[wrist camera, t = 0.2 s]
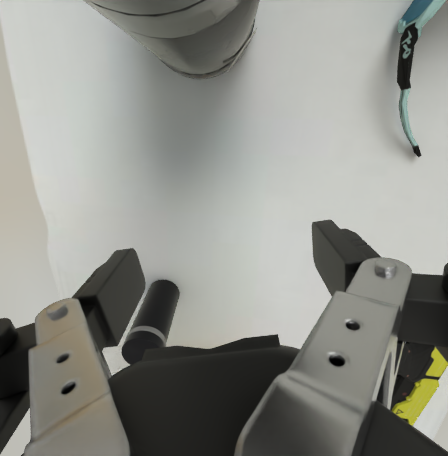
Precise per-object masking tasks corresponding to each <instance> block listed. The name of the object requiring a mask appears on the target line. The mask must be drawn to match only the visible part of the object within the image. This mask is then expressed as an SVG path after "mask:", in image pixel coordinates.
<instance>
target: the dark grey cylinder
mask: <svg viewBox="0 0 448 456" xmlns="http://www.w3.org/2000/svg"><path fill="white" fill-rule="evenodd" d="M178 299H179V289H178V287H177V286H176V285H175V284H174V283H172V282H171V281H168V280H158V281H156V282H154V283H153V284H152V285H151V286H150V288H149V290H148V293H147V295H146V297H145V299H144V301H143V304H142V306H141V308H140V310H139V312H138V314H137V317H136V319H135V321H134V323H133V325H132V327H131V330H130V332H129V333H128V335H127V337H126V339H125V343H124V345H123V347H122V356H123V358H124V359H125V361H126V362H128V363H129V364H130V365H132V364H134V363H137V362H139V361H141V360H142V357H143V355H144V352H145V349H153V348H162V347H166V342H167V338H168V335H169V331H170V327H171V324H172V320H173V317H174V313H175V309H176V306H177V302H178Z"/></svg>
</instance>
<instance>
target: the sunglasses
mask: <svg viewBox="0 0 448 456" xmlns="http://www.w3.org/2000/svg"><path fill="white" fill-rule="evenodd" d="M445 1H446V0H414V1H413V2H412V4H411V5H410V7H409V8H408V10H407V11H406V13H405V14H404V16H403V17H402V19H400V20H399V24H398V32H400V33H401V34H403V35H402V37H401V41H400V50H399V59H398V70H397V83H398V85H399V87H400V88H401V94H400V101H399V111H400V118H401V122H402V126H403V129H404V132H405V134H406V136H407V138H408V139H409V141H410V143H411V145H412V147H413V150H414V153H415V154H416V155H417V156H418V157H420V156H421V153H420V150H419V146H418V144H417V143H416V141H415V139H414V138H413V135H412V132H411V129H410V125H409V120H408V111H407V99H408V95H409V92H410V88H411V85H410V74H411V66H412V59H413V52H414V45H415V43H416V41H417V40H418V37H420V36H421V31H422V26H423V25H424V24H425V23H426V22H428V21H429V20H430V19H431V18H432V17H433V16H434V15H435V13H436V12H437V11H438V10H439V8H440V7H441V6H442V5H443V4H444V3H445Z"/></svg>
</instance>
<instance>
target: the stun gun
mask: <svg viewBox="0 0 448 456" xmlns="http://www.w3.org/2000/svg"><path fill="white" fill-rule="evenodd" d="M447 366H448V363H447V361H446V360H445V359H444V358H443V356H442V355H441V354H440V352H439V351H438V350H437V349H436V347H435V346H434V345H427V344H419V343H412V342H410V343H408V344H405V343H404V347H403V351H402V355H401V359H400V363H399V368H398V372H397V376H396V380H395V384H394V389H393V394H392V401H391V407H390V410H391V411H392V412H394V413H395V414H396V415H398V416H399V417H401V418H402V419H403V420H405V421H406V422H407V423H409V424H410V425H412V426H413V424H414V423H415V421H416V420H417V417H419V415H420V414H421V412H422V411H423V409H424V408H425V406H426V405H427V403H428V402H429V400H430V399H431V397H432V396H433V394H434V393H435V391H436V390H437V389H436V388H437V387H439V383H438V380H439V378H440V377H441V375H442V374H443V372H444V370H445V369H446V367H447Z"/></svg>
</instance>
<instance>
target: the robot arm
mask: <svg viewBox="0 0 448 456" xmlns="http://www.w3.org/2000/svg"><path fill="white" fill-rule="evenodd" d="M83 1H85V2H86V3H87V4H89V5H90V6H91V7H93V8H94V9H95V10H96V11H98V12H99V13H100V14H102V15H103V16H104V17H106V18H107V19H109V20H110V21H111V22H113V23H114V24H115V25H117V26H118V27H119V28H120V29H122V30H123V31H124V32H126V33H127V34H128V35H130V36H131V37H132V38H134V39H135V40H136V41H137V42H139V43H140V44H141V45H143V46H144V47H145V48H147V49H148V50H149V51H151V52H152V53H153V54H154V55H156V56H157V57H158V58H159V59H160V60H161V61H162V62H163V63H164V64H166V65H167V66H168V67H169V68H171V69H172V70H174V71H175V72H177V73H179V74H181V75H183V76H186V77H190V78H196V79H205V78H211V77H214V76H217V75H220V74H221V73H223V72H225V71H228V72H229V70H230V69H231V67H232V66H233V65H234V64H235V63H236V62H237V61H238V60H239V58H240V57H241V56H242V54H243V53H244V51H245V49H246V48H247V45H248V43H249V41H250V40H251V38H252V37H253V35H254V34H255V32H256V30H255V31H254V33H253V34H252V31H253V27H254V22H255V16H256V12H257V8H258V4H259V0H83ZM256 29H257V28H256ZM251 35H252V36H251ZM312 241H313V257H314V263H315V266H316V268H317V270H318V272H319V274H320V276H321V278H322V279H323V281H324V283H325V285H326V287H327V288H328V290H329V292H330V294H331V296H332V298H331V300H330V301H329V303H328V305H327V306H326V308H325V310H324V311H323V313H322V315H321V316H320V318H319V320H318V321H317V323H316V325H315V326H314V328H313V330H312V331H311V333H310V335H309V336H308V338H307V339H306V341H305V343H304V344H303V346H302V348H301V349H297V348H294V347H289V346H283V345H280V343H279V338H278V334H277V335H268V336H260V337H251V338H243V339H240V340H237V341H234V342H231V343H228V344H225V345H222V346H218V347H215V348H212V349H201V348H192V347H183V346H171V347H162V348H153V349H145V352H144V355H143V357H142V360H141V361H139V362H137V363H134V364H132V365H130V366H128V367H126V368H124V369H122V370H121V371H119V372H117V373H116V374H114V375H113V376H112V375H111V373H110V370H109V368H108V365H107V362H106V360H105V358H104V355H103V353H102V350H103V348H104V347H113V346H118V344H119V342H120V340H121V338H122V336H123V334H124V332H125V330H126V328H127V326H128V324H129V321H130V319H131V317H132V315H133V313H134V311H135V309H136V307H137V305H138V303H139V301H140V299H141V297H142V295H143V293H144V290H145V278H144V274H143V271H142V268H141V265H140V262H139V259H138V256H137V253H136V251H135V250H134V249H133V248H130V249H123V250H117V251H115V252H114V253H113V254H112V256H111V257H110V258H109V259H108V260H107V262H106V263H104V264H103V265H102V266H100V267H99V268H97V269H96V270H95V271H94V272H93V274H92V275H91V277H89V278H88V279H87V281H86V283H84V284H83V285H82V286H81V288H80V289H79V290H78V291H77V292H76V293H75V294H74V296H73V297H72V298H68V299H63V300H60V301H58V302H55V303H53V304H51V305H49V306H48V307H46V308H45V309H43V310H42V311H41V312H40V313H39V314H38V315H37V316H36V318H35V323H32V324H29V325H26V326H23V327H20V328H17V329H15V327H14V326H13V324H12V322H11V320H10V319H8V318H3V319H0V454H1V452H2V450H3V449H4V447H5V446H6V444H7V443H8V441H9V439H10V437H11V436H12V435H13V433H14V431H15V430H16V428H17V427H18V425H19V423H20V422H21V420H22V419H23V417H24V416H25V414H26V412H27V411H28V409H29V408H30V423H31V440H30V442H29V443H28V444H27V445H26V447H25V451H24V453H23V454H22V455H21V456H448V452H447V451H446V450H445V449H443V448H442V447H440V446H439V445H437V444H436V443H435V442H434V441H432V440H431V439H429V438H428V437H427V436H425V435H424V434H423V433H421V432H420V431H418V430H417V429H416V428H414V427H413V426H412V425H410V424H409V423H407V422H406V421H405V420H403V419H402V418H401V417H399V416H398V415H396V414H395V413H394V412H392V411H391V410H390V407H391V401H392V394H393V389H394V384H395V380H396V376H397V372H398V368H399V363H400V359H401V355H402V351H403V347H404V342H412V343H419V344H427V345H434V346H435V347H436V349H437V350H438V351H439V352H440V354H441V355H442V356H443V358H444V359H445V360H446V361H447V363H448V263H447V264H446V265H445V266H444V272H443V275H426V274H414V273H412V270H411V268H410V267H409V266H408V265H407V264H405V263H403V262H401V261H399V260H395V259H391V258H382V257H381V256H380V255H379V254H377V253H376V252H375V251H374V250H373V249H372V248H371V247H370V246H369V245H367V243H366V242H365V241H364V240H362V238H361V237H360V236H359V235H358V234H356V233H355V232H352V231H350V230H348V229H340V228H339V227H338V226H337V225H336V224H335V223H334V222H333V221H332V220H324V221H317V222H313V223H312Z"/></svg>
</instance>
